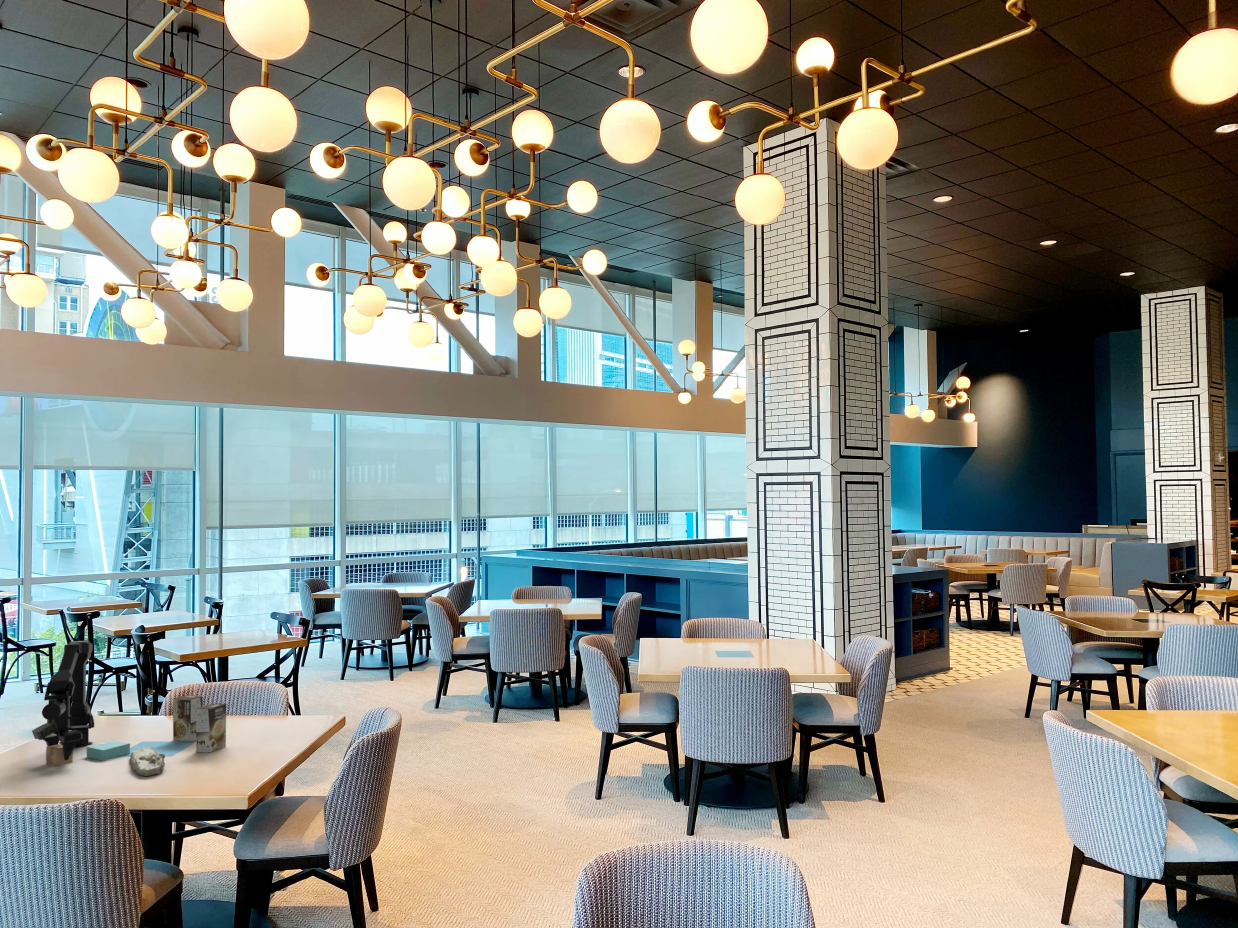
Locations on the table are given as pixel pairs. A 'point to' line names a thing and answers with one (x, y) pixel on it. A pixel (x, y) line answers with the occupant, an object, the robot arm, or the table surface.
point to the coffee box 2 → (211, 727)
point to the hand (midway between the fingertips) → (59, 758)
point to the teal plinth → (108, 750)
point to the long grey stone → (147, 761)
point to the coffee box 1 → (185, 717)
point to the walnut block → (56, 755)
